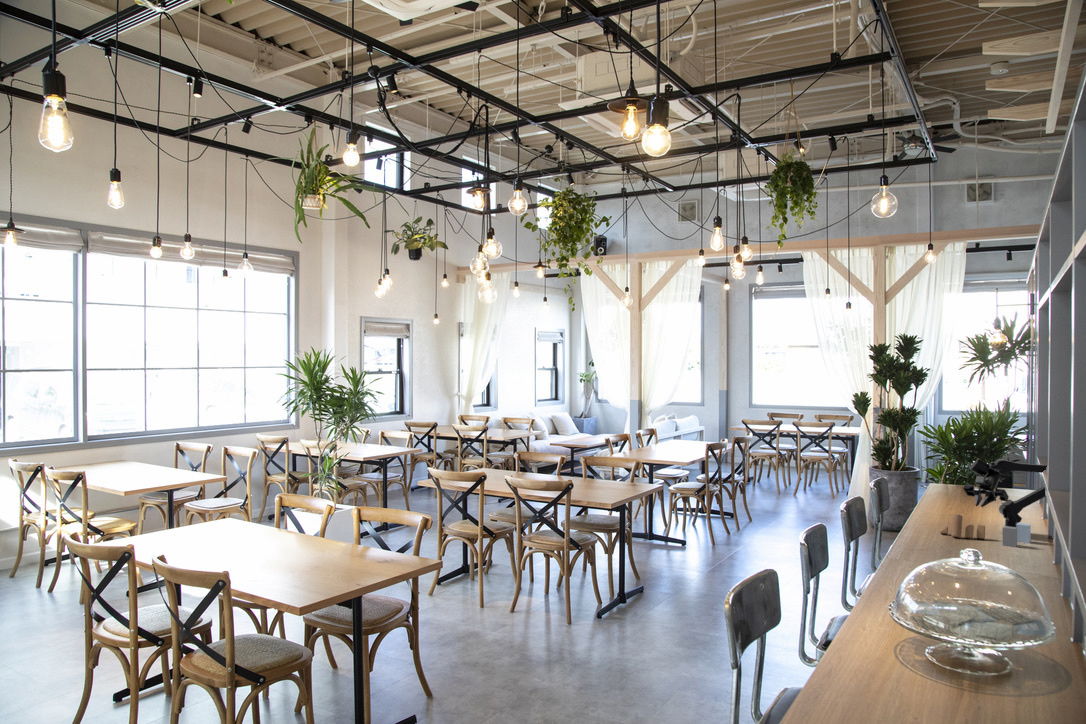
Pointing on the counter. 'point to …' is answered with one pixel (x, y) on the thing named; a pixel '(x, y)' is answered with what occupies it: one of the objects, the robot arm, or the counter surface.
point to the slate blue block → (1023, 532)
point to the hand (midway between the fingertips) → (978, 506)
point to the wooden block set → (968, 531)
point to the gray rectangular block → (1010, 536)
